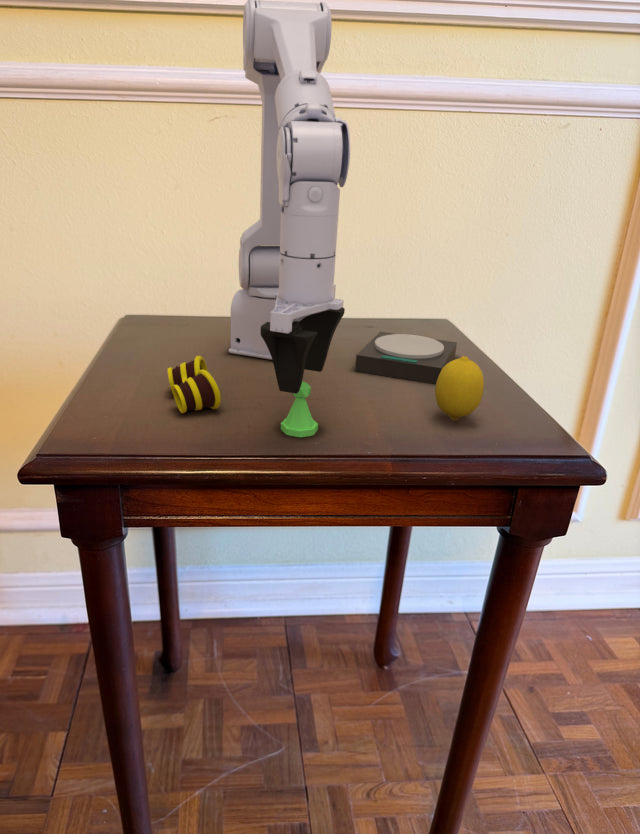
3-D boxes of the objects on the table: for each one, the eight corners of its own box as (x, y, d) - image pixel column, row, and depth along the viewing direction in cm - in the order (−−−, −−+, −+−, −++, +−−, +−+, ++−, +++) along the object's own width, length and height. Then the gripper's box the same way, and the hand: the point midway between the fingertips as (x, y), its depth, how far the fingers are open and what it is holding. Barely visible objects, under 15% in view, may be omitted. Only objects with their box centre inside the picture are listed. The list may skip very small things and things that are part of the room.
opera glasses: (171, 394, 89) (162, 359, 87) (210, 384, 90) (202, 349, 88) (182, 424, 81) (171, 386, 79) (224, 413, 82) (216, 374, 79)
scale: (355, 371, 97) (356, 350, 96) (378, 346, 108) (380, 327, 107) (438, 384, 94) (442, 363, 92) (454, 357, 104) (457, 338, 103)
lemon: (478, 431, 80) (490, 366, 76) (430, 426, 81) (440, 361, 77) (476, 413, 85) (487, 351, 81) (431, 409, 86) (440, 347, 82)
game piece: (316, 422, 81) (319, 374, 78) (319, 437, 77) (322, 387, 74) (280, 421, 81) (281, 373, 78) (281, 437, 77) (282, 387, 74)
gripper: (321, 270, 62) (313, 408, 69) (365, 246, 74) (354, 366, 81) (251, 262, 65) (249, 397, 71) (304, 240, 76) (299, 357, 83)
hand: (301, 380), depth 76 cm, fingers open, 7 cm apart
